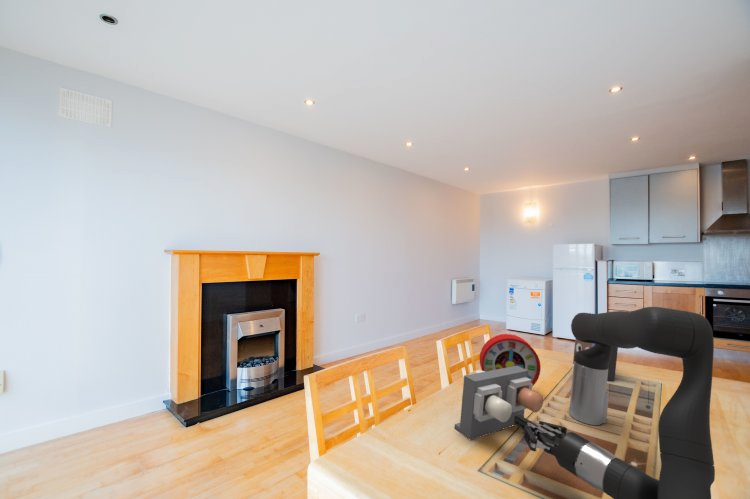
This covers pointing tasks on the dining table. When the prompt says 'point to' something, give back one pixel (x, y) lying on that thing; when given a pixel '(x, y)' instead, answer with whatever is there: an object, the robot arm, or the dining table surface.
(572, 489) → the dining table surface
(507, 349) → the toy clock
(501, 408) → the cream button
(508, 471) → the dining table surface
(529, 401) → the terracotta button
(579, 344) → the cereal box
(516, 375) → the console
